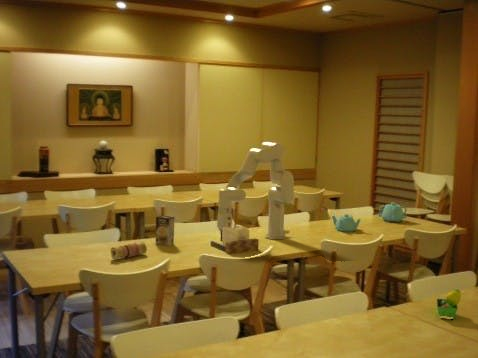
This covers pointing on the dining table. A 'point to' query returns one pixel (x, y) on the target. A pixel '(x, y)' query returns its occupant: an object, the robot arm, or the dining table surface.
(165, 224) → the coffee box
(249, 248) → the guide track
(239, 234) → the cable organizer
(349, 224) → the teapot
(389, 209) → the decorative pot
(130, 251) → the scroll
